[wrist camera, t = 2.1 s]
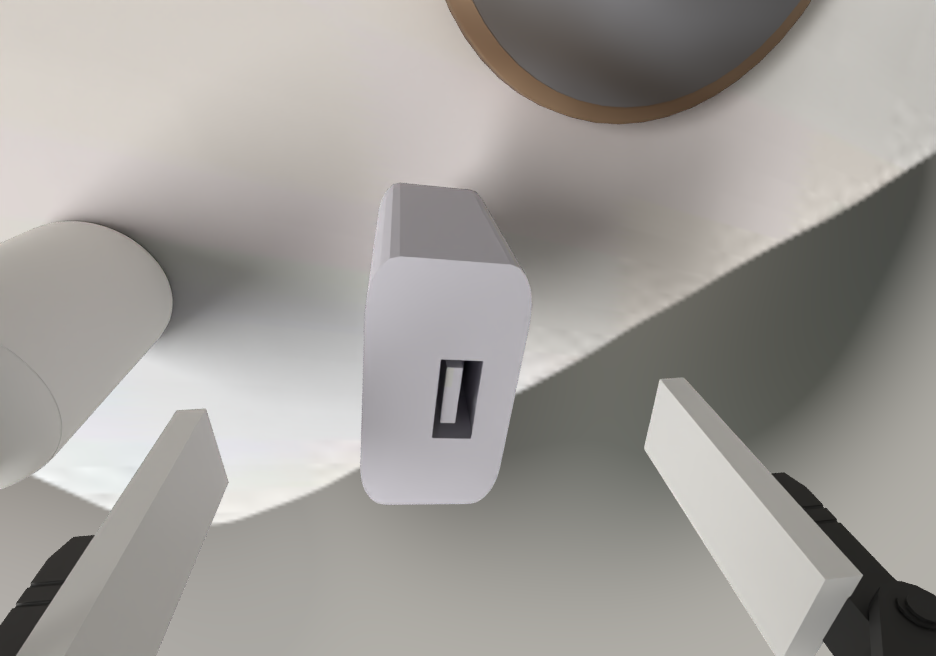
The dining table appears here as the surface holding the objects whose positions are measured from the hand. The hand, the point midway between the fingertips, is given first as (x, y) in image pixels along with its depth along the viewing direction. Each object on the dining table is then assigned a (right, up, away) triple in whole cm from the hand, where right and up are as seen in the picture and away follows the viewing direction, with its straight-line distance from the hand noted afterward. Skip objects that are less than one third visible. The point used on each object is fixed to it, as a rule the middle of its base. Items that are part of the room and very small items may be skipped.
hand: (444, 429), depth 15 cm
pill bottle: (-20, +5, +13) cm, 24 cm away
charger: (-2, +8, +14) cm, 16 cm away
